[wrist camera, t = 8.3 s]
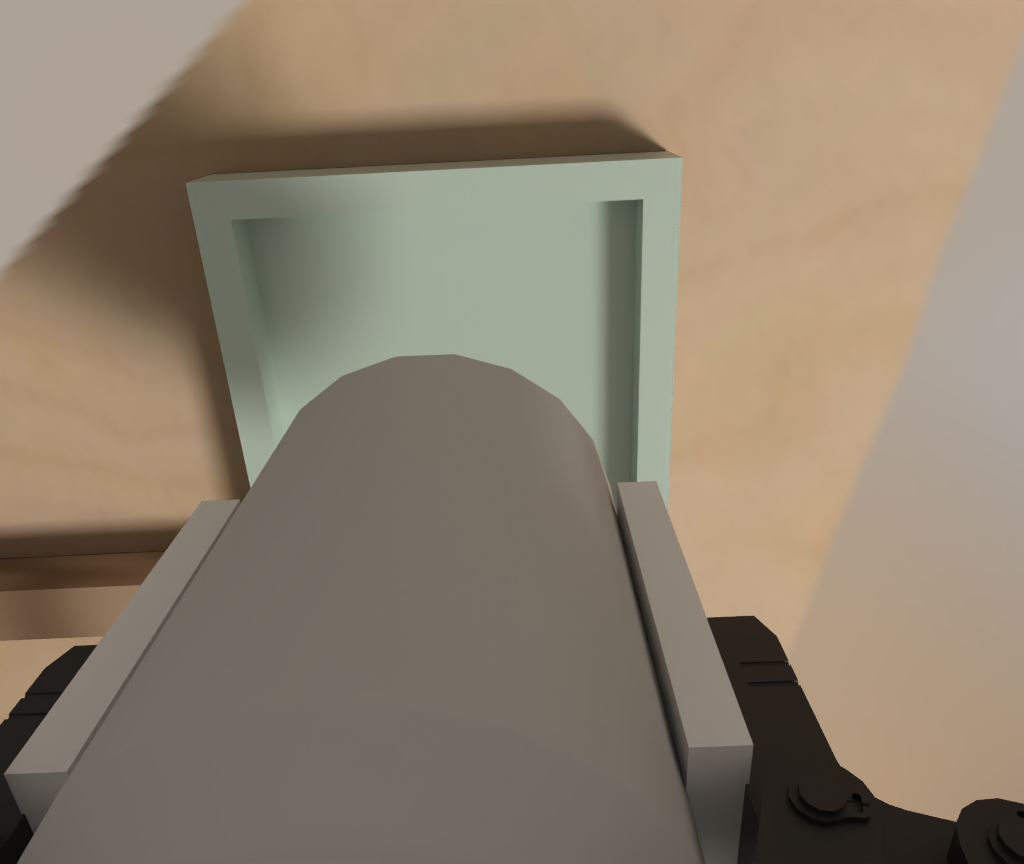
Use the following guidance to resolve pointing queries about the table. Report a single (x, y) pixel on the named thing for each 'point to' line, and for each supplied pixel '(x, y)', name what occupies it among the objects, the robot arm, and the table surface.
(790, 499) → the table surface
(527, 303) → the tray
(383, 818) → the can
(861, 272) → the table surface
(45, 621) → the holder
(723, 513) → the table surface
